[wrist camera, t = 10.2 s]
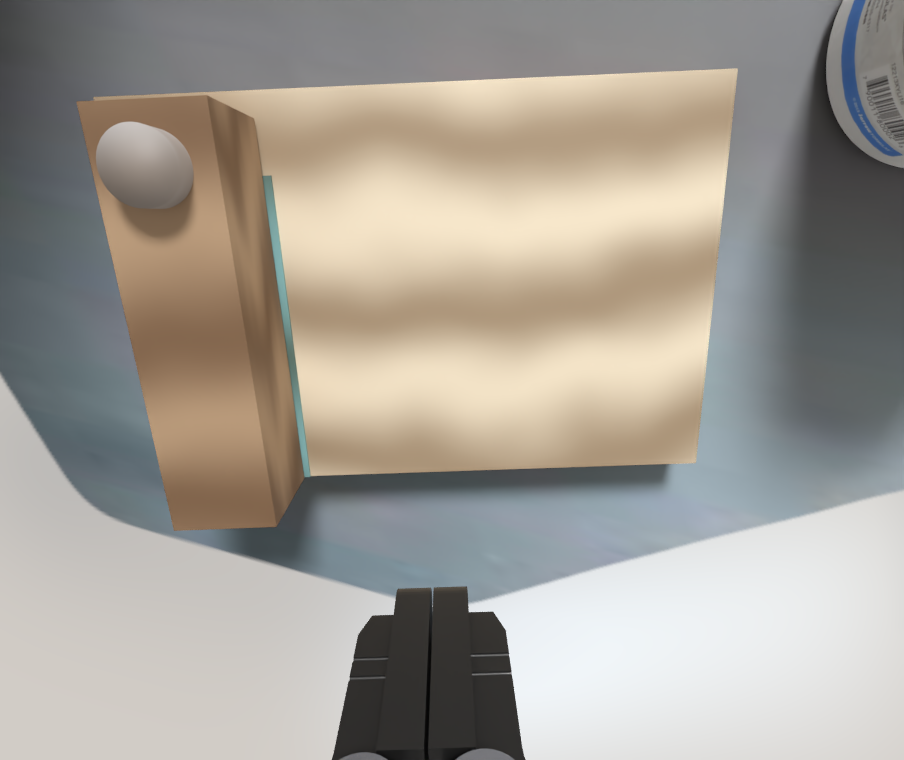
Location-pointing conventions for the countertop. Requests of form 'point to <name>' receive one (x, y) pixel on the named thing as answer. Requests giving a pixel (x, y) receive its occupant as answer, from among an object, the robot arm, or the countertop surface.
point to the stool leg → (199, 303)
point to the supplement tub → (869, 76)
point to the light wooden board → (495, 266)
